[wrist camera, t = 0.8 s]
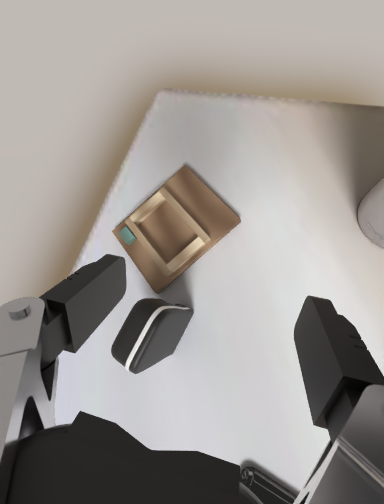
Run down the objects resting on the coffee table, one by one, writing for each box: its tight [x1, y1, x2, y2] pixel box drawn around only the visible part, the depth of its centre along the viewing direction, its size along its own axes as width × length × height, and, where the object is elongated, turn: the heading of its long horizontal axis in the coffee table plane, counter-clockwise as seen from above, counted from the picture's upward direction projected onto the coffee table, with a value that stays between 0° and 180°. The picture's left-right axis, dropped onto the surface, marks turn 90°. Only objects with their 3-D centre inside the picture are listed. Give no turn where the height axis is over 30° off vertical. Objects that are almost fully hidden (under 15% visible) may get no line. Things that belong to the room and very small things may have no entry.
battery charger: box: [111, 298, 193, 374], centre depth 26 cm, size 7×4×11 cm, turn 151°
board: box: [112, 165, 241, 294], centre depth 34 cm, size 16×13×3 cm
